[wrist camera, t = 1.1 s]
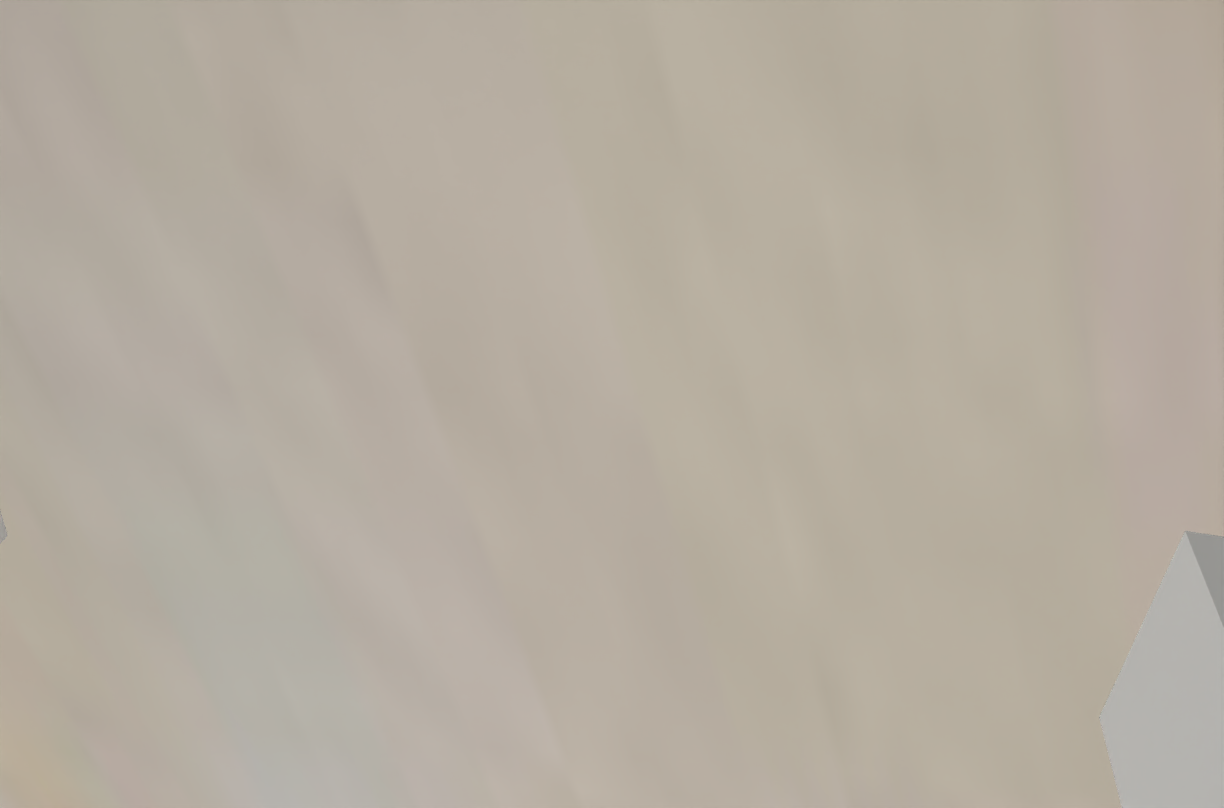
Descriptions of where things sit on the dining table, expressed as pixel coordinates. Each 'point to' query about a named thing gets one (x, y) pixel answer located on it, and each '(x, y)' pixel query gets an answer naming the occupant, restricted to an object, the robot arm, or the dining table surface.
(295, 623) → the dining table surface
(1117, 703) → the robot arm
